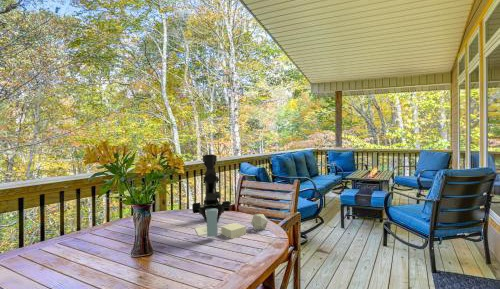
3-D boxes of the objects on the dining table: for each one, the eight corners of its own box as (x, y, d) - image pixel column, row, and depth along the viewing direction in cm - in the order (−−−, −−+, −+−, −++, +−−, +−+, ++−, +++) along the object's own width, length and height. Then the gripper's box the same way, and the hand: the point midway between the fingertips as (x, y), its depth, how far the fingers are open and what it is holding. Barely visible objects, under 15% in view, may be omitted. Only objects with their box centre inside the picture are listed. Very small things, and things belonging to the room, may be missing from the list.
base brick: (221, 234, 150) (221, 226, 150) (235, 230, 156) (235, 222, 156) (231, 238, 143) (231, 230, 143) (245, 234, 149) (245, 226, 149)
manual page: (194, 228, 160) (194, 227, 160) (210, 226, 163) (210, 225, 163) (198, 235, 149) (198, 234, 149) (215, 233, 152) (215, 232, 152)
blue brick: (207, 234, 144) (206, 208, 144) (217, 233, 145) (216, 208, 144) (207, 236, 140) (206, 211, 140) (217, 236, 141) (216, 210, 140)
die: (264, 233, 151) (272, 216, 154) (249, 226, 151) (257, 209, 154) (261, 234, 158) (268, 218, 162) (247, 227, 158) (254, 211, 162)
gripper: (191, 186, 144) (191, 215, 134) (229, 185, 147) (232, 212, 136) (193, 199, 152) (192, 226, 142) (228, 197, 155) (231, 224, 144)
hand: (212, 222), depth 141 cm, fingers closed on blue brick, 5 cm apart
